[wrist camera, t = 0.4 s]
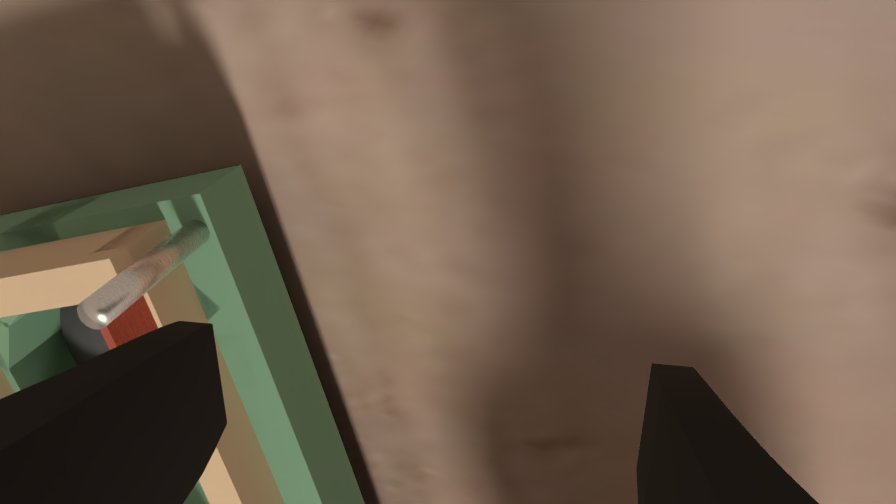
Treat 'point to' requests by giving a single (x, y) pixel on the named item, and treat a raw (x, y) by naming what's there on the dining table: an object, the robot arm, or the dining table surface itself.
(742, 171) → the dining table surface
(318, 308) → the dining table surface
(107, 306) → the hammer
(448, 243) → the dining table surface
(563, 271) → the dining table surface
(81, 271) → the board
